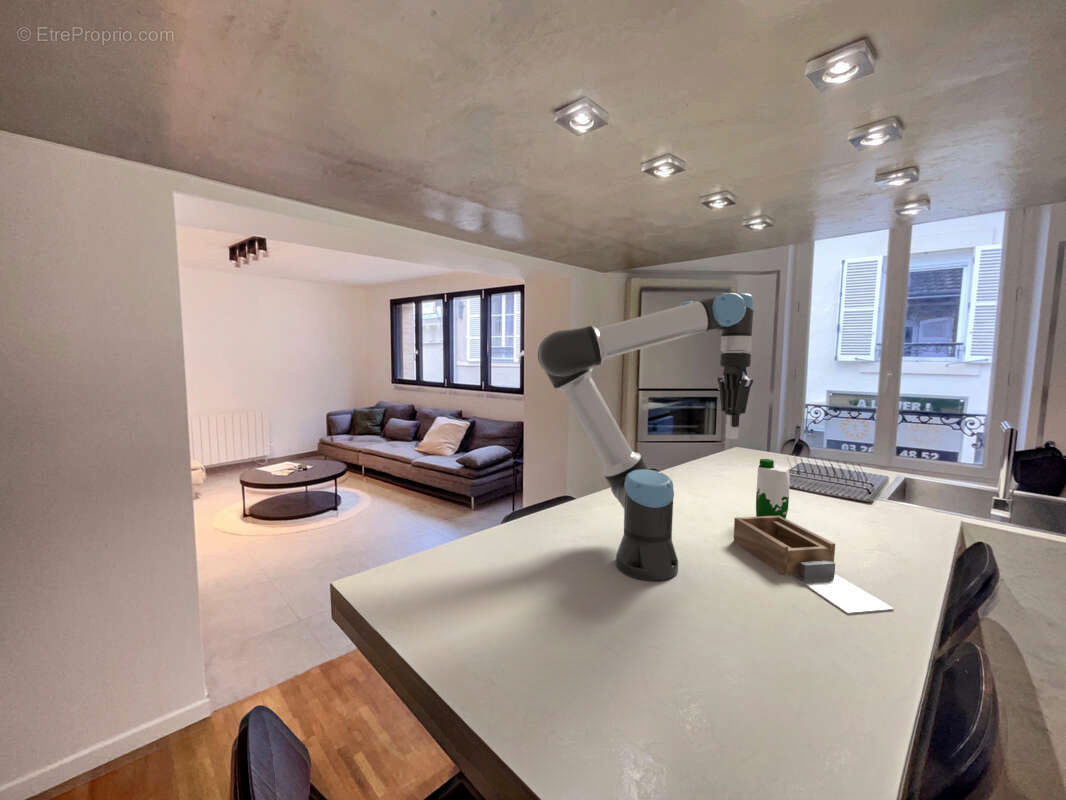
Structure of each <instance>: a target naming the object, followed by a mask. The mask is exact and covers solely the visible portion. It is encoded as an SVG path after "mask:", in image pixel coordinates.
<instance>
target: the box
mask: <svg viewBox="0 0 1066 800" xmlns="http://www.w3.org/2000/svg"><path fill="white" fill-rule="evenodd" d="M733 521H734V522H733V523H734V525H733V543H735V544H736V545H738V546H739V547H740V548H743V549H744V550H745V551H747V552H749V553H750V554H751V555H753V556H754V557H755V558H757V559H758V560H760V561H761V562H763V564H766V565H767V566H768V567H769V568H771V569H772V570H774V571H775V572H777V573H779V574H780V575H781V576H785V575H789V573H796V572H800V562H813V561H828V560H830V561H832V562H834V563H835V554H836V553H835V552H836V551H835V550H836V543H834V542H832V541H830V540H828V539H827V538H824V537H823V536H820V535H819V534H816V533H815V532H813V531H810V530H809V529H807V528H804V527H803V526H800V525H798V524H797V523H795V522H793V521H790V520H789V519H787V518H786V519H785V518H783V517H781V516H761V517H756V516H745V517H744V516H743V517H734V520H733Z"/></svg>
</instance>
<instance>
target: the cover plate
mask: <svg viewBox="0 0 1066 800" xmlns="http://www.w3.org/2000/svg"><path fill="white" fill-rule="evenodd" d="M788 576H790V577H791V578H792V579H794V580H796V581H797V582H798V583H801V585H803V586H805V587H806V588H807V589H809V590H811V591H812V592H814V593H815V594H817V595H818V596H819V597H821V598H823V600H825V601H827V602H829V604H831V605H832V606H835V607H836V608H837V609H838V610H840V611H842V612H843V613H845V614H846V615H856V614H857V615H860V614H869V613H870V614H871V613H878V612H879V613H880V612H881V613H882V612H892V611H893V612H894V608H893V607H892V606H891V605H889V604H887V603H886V602H883V601H882V600H880V599H878V598H877V597H875V596H873V595H871V594H870V593H868V592H866V591H864V590H863V589H862V588H859V587H858V586H857V585H855V584H853V583H851V582H849V581H847V580H846V579H844V578H842V577H841V576H840V575H838V574H837V573H836V562H835V561H834V562H832V561H830V560H828V561H813V562H800V572H796V573H789V574H788Z"/></svg>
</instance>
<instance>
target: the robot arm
mask: <svg viewBox="0 0 1066 800" xmlns="http://www.w3.org/2000/svg"><path fill="white" fill-rule="evenodd" d="M754 310H755V309H754V297H753V296H752V294H750V293H734V292H728V293H727V292H725V293H720V294H719V295H716V296H712V297H709V298H705V299H702V300H699V301H698V300H697V301H693V300H692V301H684V302H681V304H679V305H678V306H675V307H672V308H668V309H664V310H663V309H662V310H660V311H656V312H653V313H649V314H645V315H642V316H638V317H634V318H630V319H627V320H623V321H620V322H616V323H612V324H609V325H604V326H601V327H598V328H597V327H595V326H594V325H589V326H586V327H585V326H583V327H581V328H573V329H565V330H557V331H554V332H552V333H550V334H549V335H547V336H546V337H544V338H543V340H542V341H541V342H540V344H539V346H538V350H537V360H538V362H539V363H538V364H539V365H540V367H541V368H542V369H543V370H544V372H545V374H546V376H547V378H548V379H549V381H550V382H551V385H552V386H553V388H554V389H555V390H557V391H560V392H562V393H563V394H564V396H565V398H566V400H567V401H568V403H569V405H570V406H571V408H572V410H573V412H574V414H575V415H576V418H577V419H578V421H579V423H580V425H581V426H582V427H583V429H584V432H585V434H586V435H587V437H588V438H589V440H590V442H591V444H592V446H593V447H594V448H595V451H596V453H597V455H598V457H599V458H600V460H601V461H602V464H603V465H604V466H603V467H604V468H603V471H602V474H603V475H604V477H605V480H606V481H607V483H608V486H610V489H611V493H612V494H613V496H614V497H615V498H616V500H617V501H618V502H619V503H620V505H621V507H622V508H623V512H624V513H623V515H624V516H623V535H622V538H621V540H620V544H619V546H618V549H617V552H616V554H615V565H616V567H617V569H618V570H619V571H620V572H622V573H623V574H624V575H626V576H629V577H631V578H634V579H638V580H643V581H651V582H654V581H655V582H659V581H660V582H661V581H667V580H670V579H672V578H674V577H675V576H677V575H678V573H679V559H678V556H677V553H676V549H675V547H674V546H675V545H674V543H673V536H672V535H673V513H674V498H675V490H674V483H673V480H672V479H671V477H670V476H669V475H667V474H665V473H663V472H659V471H657V470H653V469H649V467H648V465H647V464H646V461H645V460H644V458H643V457H642V455H641V453H640V452H635V451H633V450H632V448H631V447H630V445H629V443H628V441H627V439H626V437H625V435H624V434H623V432H622V430H621V429H620V427H619V424H618V423H617V421H616V419H615V418H614V416H613V414H612V412H611V410H610V409H609V407H608V404H607V402H606V401H605V400H604V398H603V396H602V394H601V392H600V391H599V389H598V387H597V386H596V385H597V384H596V383H595V381H594V380H593V378H592V372H593V370H594V369H593V367H595V366H600V365H602V364H603V362H604V361H606V359H609V358H612V357H616V356H620V355H624V354H627V353H630V352H634V351H635V352H636V351H637V350H638V351H639V350H641V349H645V348H649V347H653V346H657V345H660V344H664V343H667V342H671V341H675V340H678V339H682V338H686V337H690V336H694V335H697V334H700V333H701V334H702V333H704V332H709V331H721V335H720V336H721V337H720V338H721V340H720V341H721V343H720V351H721V352H722V353H721V354H720V365H719V366H720V367H723V373H722V376H718V377H717V383H718V387H719V395H720V398H719V399H720V409H721V412H724V414H725V415H726V417H725V418H726V420H725V426H726V427H725V438H726V439H730V440H731V439H732V440H734V439H735V440H736V439H737V440H738V438H739V426H740V416H741V415H742V414H743V415H744V414H745V413H746V412H747V411H746V410H747V404H748V401H749V395H750V391H751V387H752V385H753V383H754V379H753V378H749V377H748V376H747V375H748V371H747V368H749V367H751V363H752V362H751V361H752V360H751V359H752V354H751V353H749V352H751V351H752V336H753V319H754V312H755V311H754Z"/></svg>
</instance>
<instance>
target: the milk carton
mask: <svg viewBox="0 0 1066 800" xmlns="http://www.w3.org/2000/svg"><path fill="white" fill-rule="evenodd" d="M774 463H775V461H774V460H773V459H769V458H760V459H759V465H758V467H757V475H756V476H757V477H756V492H755V493H756V496H755V497H756V498H755V514H756V515H755V517H761V516H781V517H783V518H785V519H787V516H788V511H789V502H790V501H789V500H790V486H791V485H790V483H791V478H790V477H791V476H790V466H781V465H779V464H778V465H777V464H774Z"/></svg>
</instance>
